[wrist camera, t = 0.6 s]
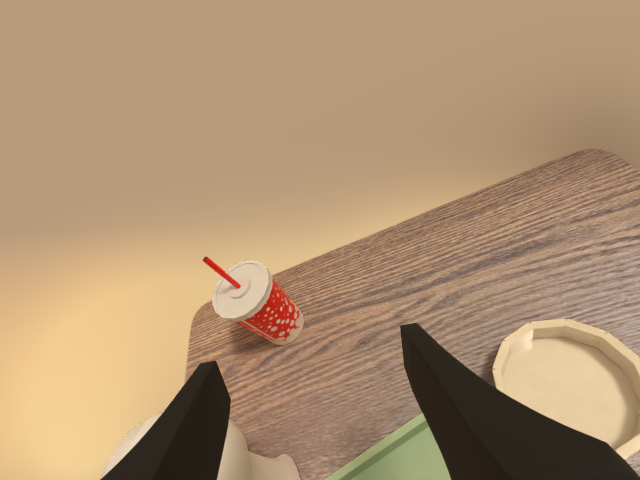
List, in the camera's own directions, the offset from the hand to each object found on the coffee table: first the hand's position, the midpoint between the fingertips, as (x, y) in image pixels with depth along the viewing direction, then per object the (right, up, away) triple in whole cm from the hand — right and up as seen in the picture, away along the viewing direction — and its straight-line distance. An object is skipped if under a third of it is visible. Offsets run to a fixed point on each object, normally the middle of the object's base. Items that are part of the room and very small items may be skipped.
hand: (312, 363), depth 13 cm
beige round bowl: (+18, -6, +12) cm, 23 cm away
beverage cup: (-3, -5, +25) cm, 26 cm away
